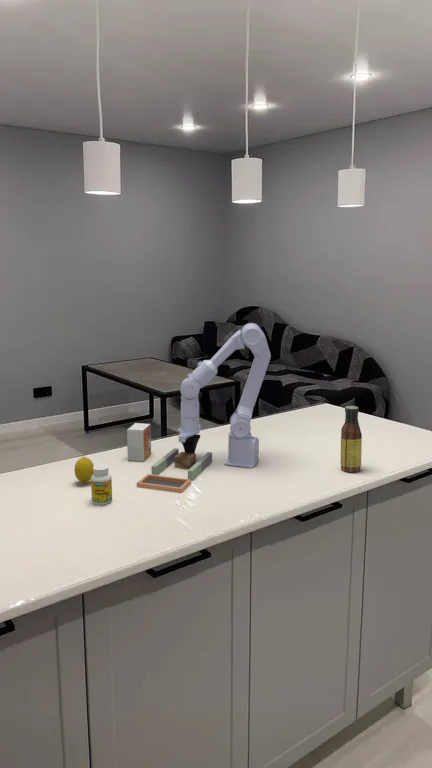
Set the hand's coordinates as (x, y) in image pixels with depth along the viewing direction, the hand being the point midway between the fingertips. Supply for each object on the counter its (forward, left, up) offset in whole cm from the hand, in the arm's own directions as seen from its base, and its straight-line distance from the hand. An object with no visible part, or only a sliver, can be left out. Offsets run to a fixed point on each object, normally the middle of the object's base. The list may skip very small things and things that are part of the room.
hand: (190, 457), depth 192 cm
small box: (+17, +1, -2) cm, 17 cm away
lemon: (+22, +27, -2) cm, 35 cm away
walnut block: (0, +4, -1) cm, 4 cm away
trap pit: (0, +21, -1) cm, 21 cm away
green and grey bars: (0, +6, -1) cm, 6 cm away
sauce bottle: (-49, -10, -2) cm, 50 cm away
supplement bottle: (+11, +37, -2) cm, 39 cm away
